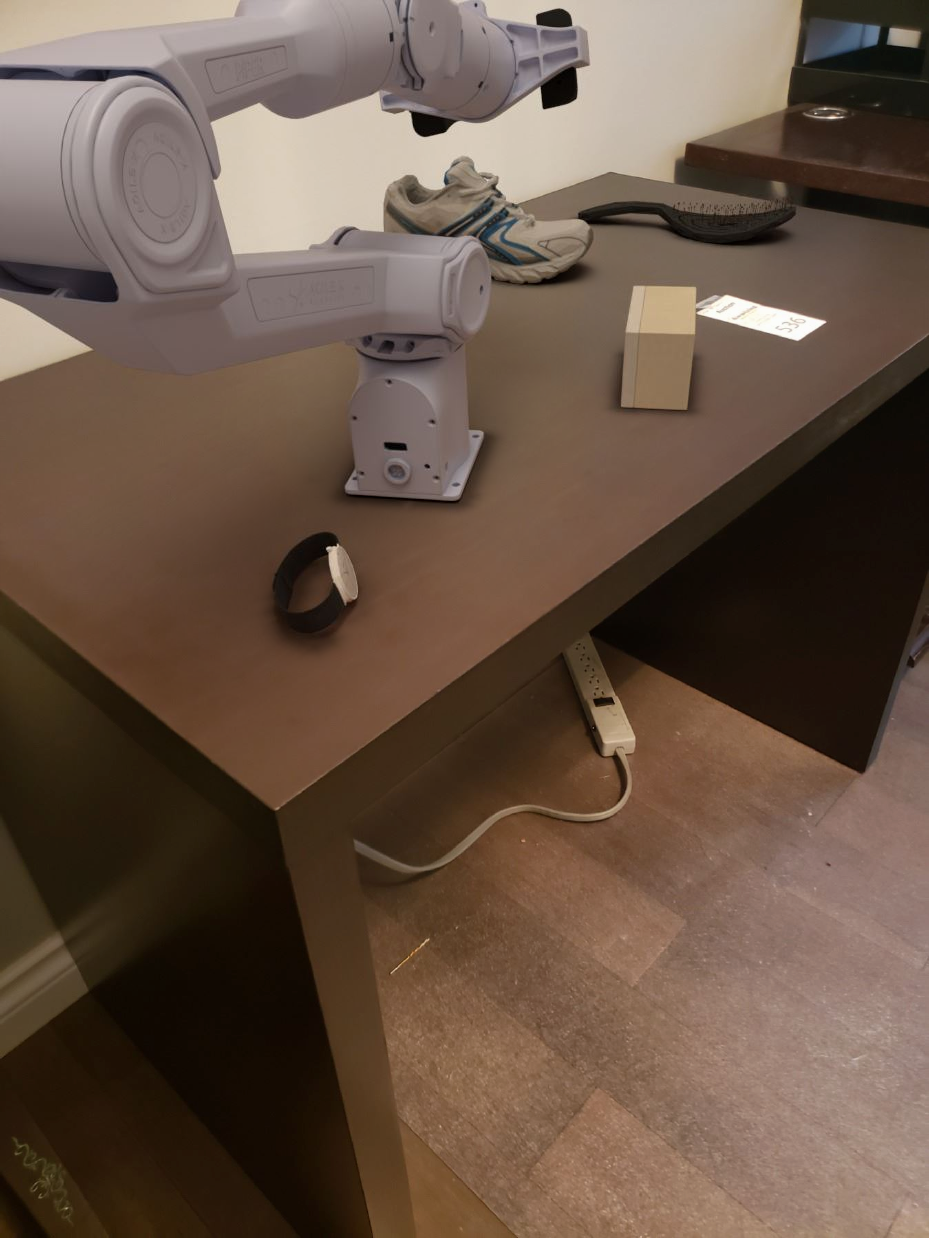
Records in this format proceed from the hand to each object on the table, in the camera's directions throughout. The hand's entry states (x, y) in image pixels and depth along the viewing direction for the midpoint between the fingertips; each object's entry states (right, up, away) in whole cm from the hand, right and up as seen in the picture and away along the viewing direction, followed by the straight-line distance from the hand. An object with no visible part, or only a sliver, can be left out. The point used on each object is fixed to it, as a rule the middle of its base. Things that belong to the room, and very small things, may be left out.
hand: (522, 90), depth 69 cm
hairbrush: (+20, +5, +38) cm, 43 cm away
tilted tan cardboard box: (+11, -20, +6) cm, 24 cm away
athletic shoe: (-2, -2, +30) cm, 30 cm away
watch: (-13, -38, -15) cm, 43 cm away
